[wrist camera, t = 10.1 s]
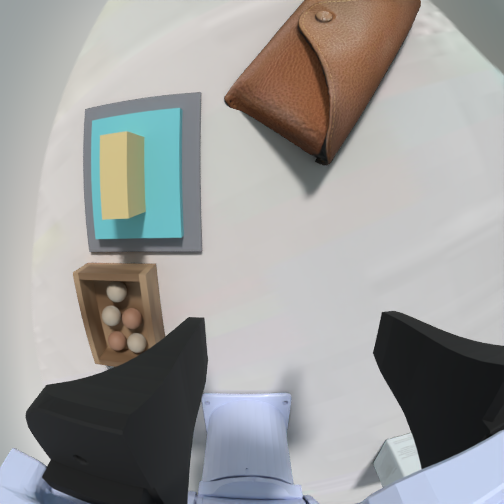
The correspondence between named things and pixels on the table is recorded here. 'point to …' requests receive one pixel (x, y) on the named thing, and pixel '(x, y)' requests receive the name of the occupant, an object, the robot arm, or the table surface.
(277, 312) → the table surface
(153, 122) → the lid
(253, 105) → the sunglasses case
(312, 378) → the table surface
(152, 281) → the box
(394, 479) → the skincare box
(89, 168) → the mat
